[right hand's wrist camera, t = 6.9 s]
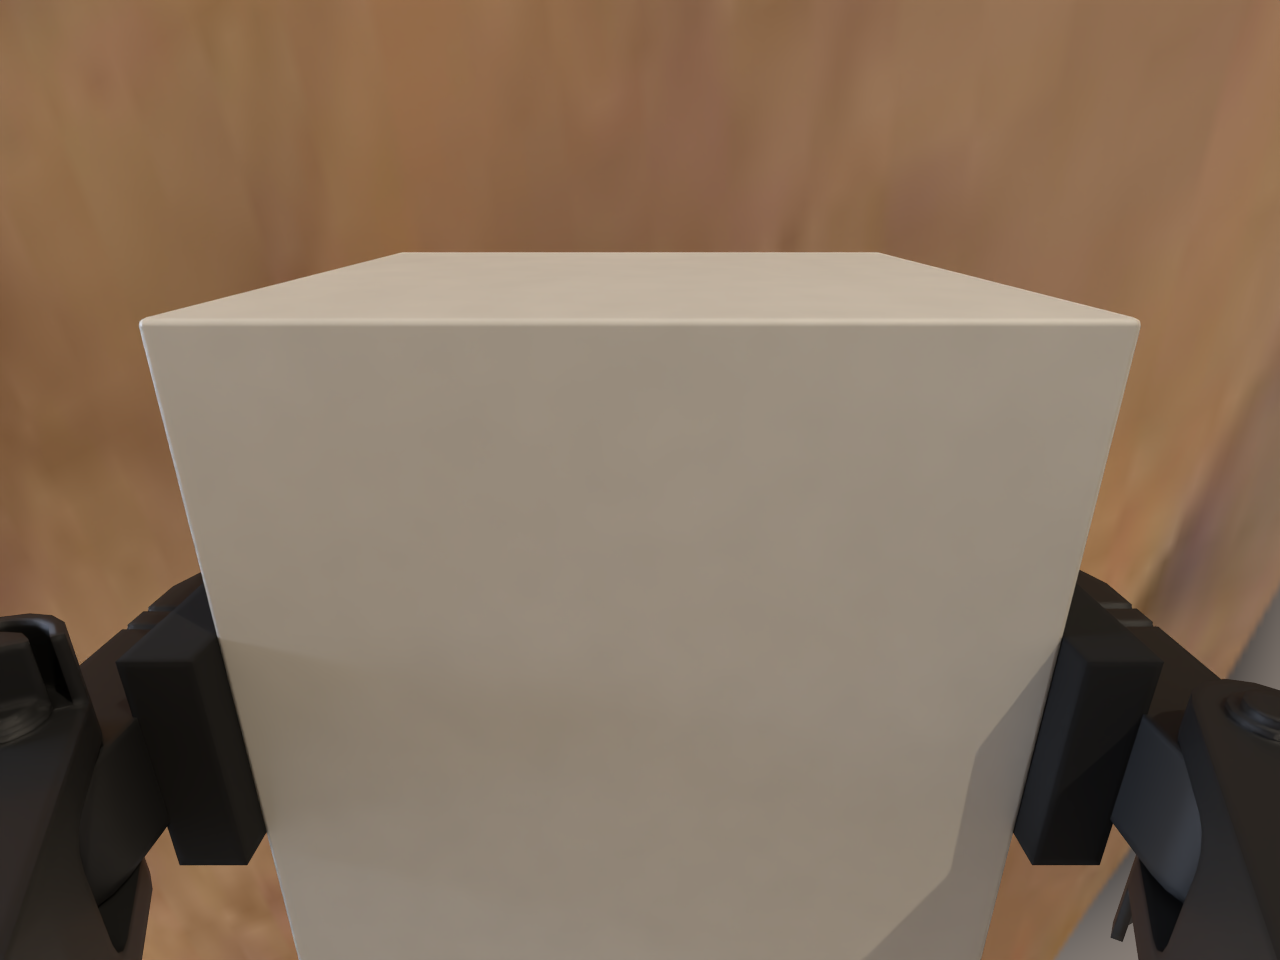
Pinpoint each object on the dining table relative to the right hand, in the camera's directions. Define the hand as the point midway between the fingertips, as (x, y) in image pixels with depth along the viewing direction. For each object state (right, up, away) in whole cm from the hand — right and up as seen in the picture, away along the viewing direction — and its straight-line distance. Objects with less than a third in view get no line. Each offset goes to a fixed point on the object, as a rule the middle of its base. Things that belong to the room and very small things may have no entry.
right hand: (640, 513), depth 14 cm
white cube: (0, +1, +1) cm, 1 cm away
